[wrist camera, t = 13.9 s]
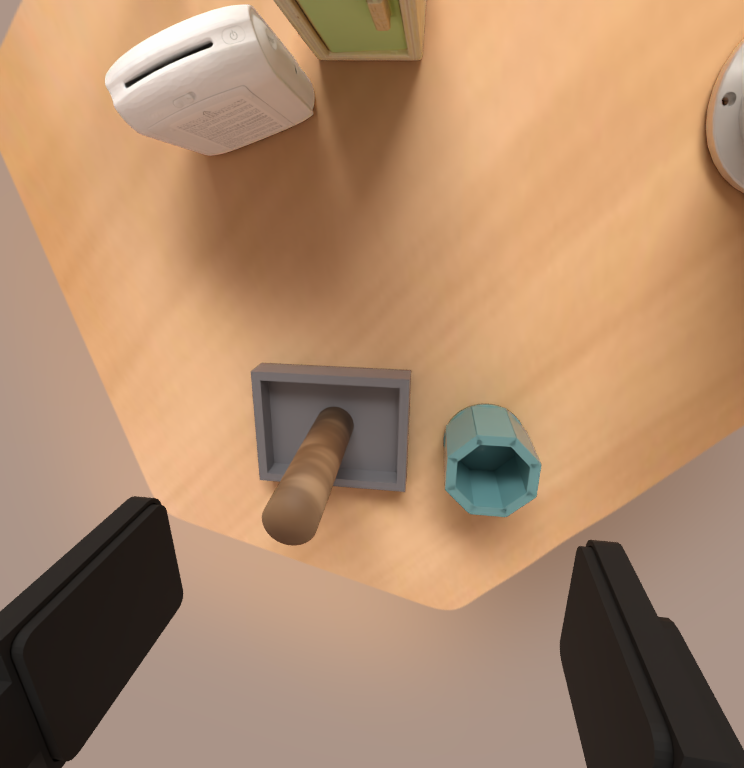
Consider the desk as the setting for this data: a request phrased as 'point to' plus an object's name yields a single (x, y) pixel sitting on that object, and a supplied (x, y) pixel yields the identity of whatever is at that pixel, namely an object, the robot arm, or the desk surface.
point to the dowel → (309, 479)
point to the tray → (344, 390)
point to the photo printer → (211, 83)
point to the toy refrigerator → (359, 28)
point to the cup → (489, 461)
